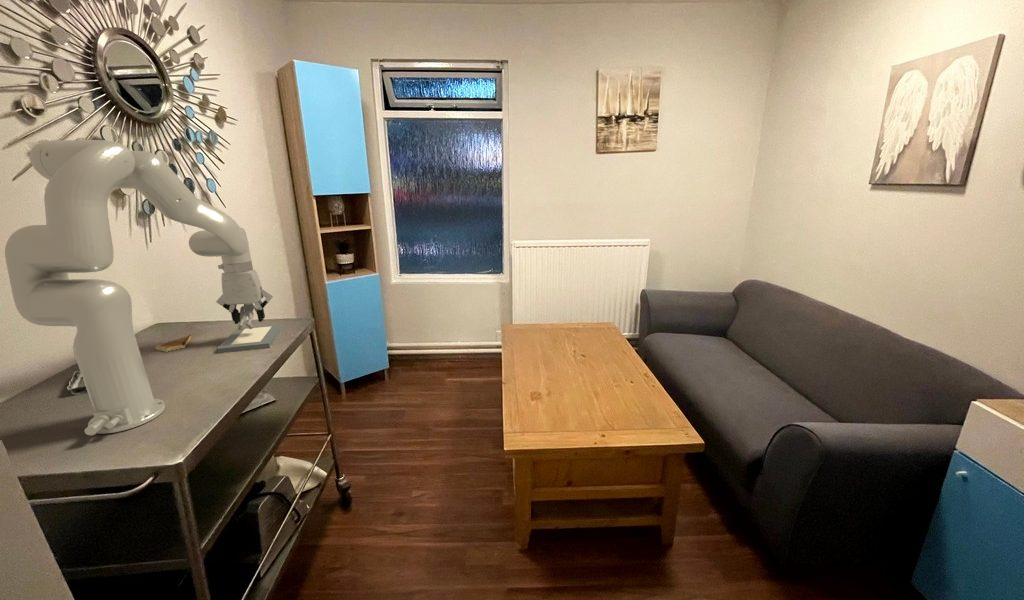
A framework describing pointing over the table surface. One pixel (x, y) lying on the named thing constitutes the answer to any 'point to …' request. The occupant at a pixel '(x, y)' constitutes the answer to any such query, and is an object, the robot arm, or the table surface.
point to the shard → (174, 344)
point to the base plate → (250, 338)
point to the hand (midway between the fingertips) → (249, 321)
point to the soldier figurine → (247, 311)
